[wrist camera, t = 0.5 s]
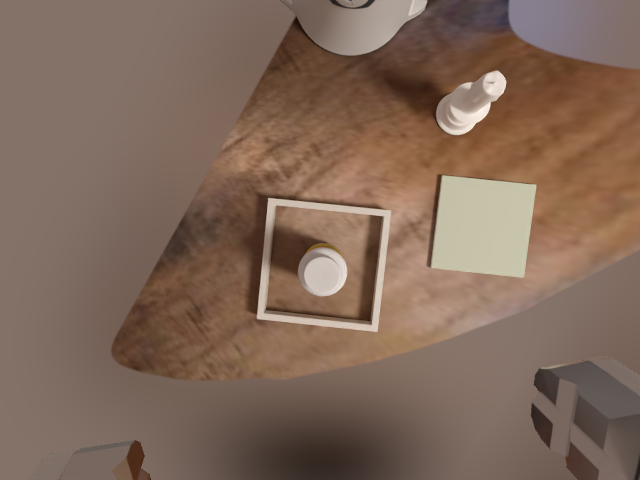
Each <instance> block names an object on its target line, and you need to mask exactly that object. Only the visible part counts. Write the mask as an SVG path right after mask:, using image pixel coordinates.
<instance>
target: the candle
mask: <svg viewBox="0 0 640 480" xmlns="http://www.w3.org/2000/svg"><path fill="white" fill-rule="evenodd" d="M505 87H506V80H505V77H504V76H503V75H502V74H501V73H500V72H499V71H493V72H490V73H487V74H485V75H483V76H482V77H481V78H480V79H479V80H477V81H476V82H474V83H464V84H462V85H460V86H459V87H457V88H456V89H455V90H454V92H453V93H451V94H448V95H447V96H445V97H444V98H443V99H442V100H441V101H440V102H439V104H438V106H437V110H436V119H437V122H438V124H439V126H440V127H441V128H442V129H443V130H444V131H445V132H447V133H449V134H452V135H461V134H464V133H466V132H468V131H470V130H471V129H472V128H473V127H474V125H475V124H476V123H477V122H479V121H481V120H482V119H483V118H484V117H485V116H486V115H487V113H488V111H489V109H490V102H492V101H496V100H497V99H498V97H499V96H501V95H502V94H503V92H504V90H505Z"/></svg>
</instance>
